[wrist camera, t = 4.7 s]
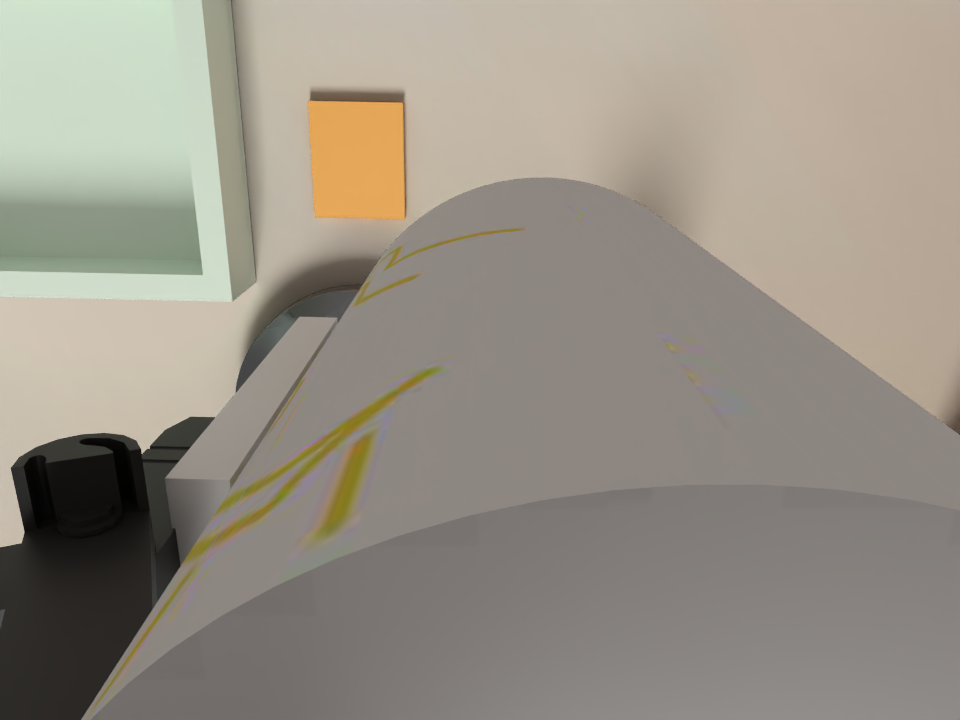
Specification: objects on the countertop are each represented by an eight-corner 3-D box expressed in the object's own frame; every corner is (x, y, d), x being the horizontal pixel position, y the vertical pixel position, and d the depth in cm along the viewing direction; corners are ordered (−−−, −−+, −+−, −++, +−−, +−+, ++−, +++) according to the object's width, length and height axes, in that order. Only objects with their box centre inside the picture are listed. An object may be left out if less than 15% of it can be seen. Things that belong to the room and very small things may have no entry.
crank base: (255, 510, 35) (247, 524, 33) (232, 281, 31) (222, 288, 30) (489, 516, 35) (489, 530, 33) (495, 287, 31) (495, 294, 30)
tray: (-53, 275, 31) (-108, 294, 28) (-137, -79, 26) (-212, -99, 24) (256, 282, 31) (232, 301, 28) (224, -73, 26) (192, -93, 24)
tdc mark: (316, 216, 30) (314, 217, 30) (309, 100, 28) (307, 100, 28) (405, 217, 30) (404, 219, 30) (403, 102, 28) (402, 102, 28)
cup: (393, 127, 14) (26, 269, 3) (789, 239, 15) (1754, 712, 4) (314, 487, 17) (-38, 1291, 6) (651, 568, 18) (947, 1433, 6)
